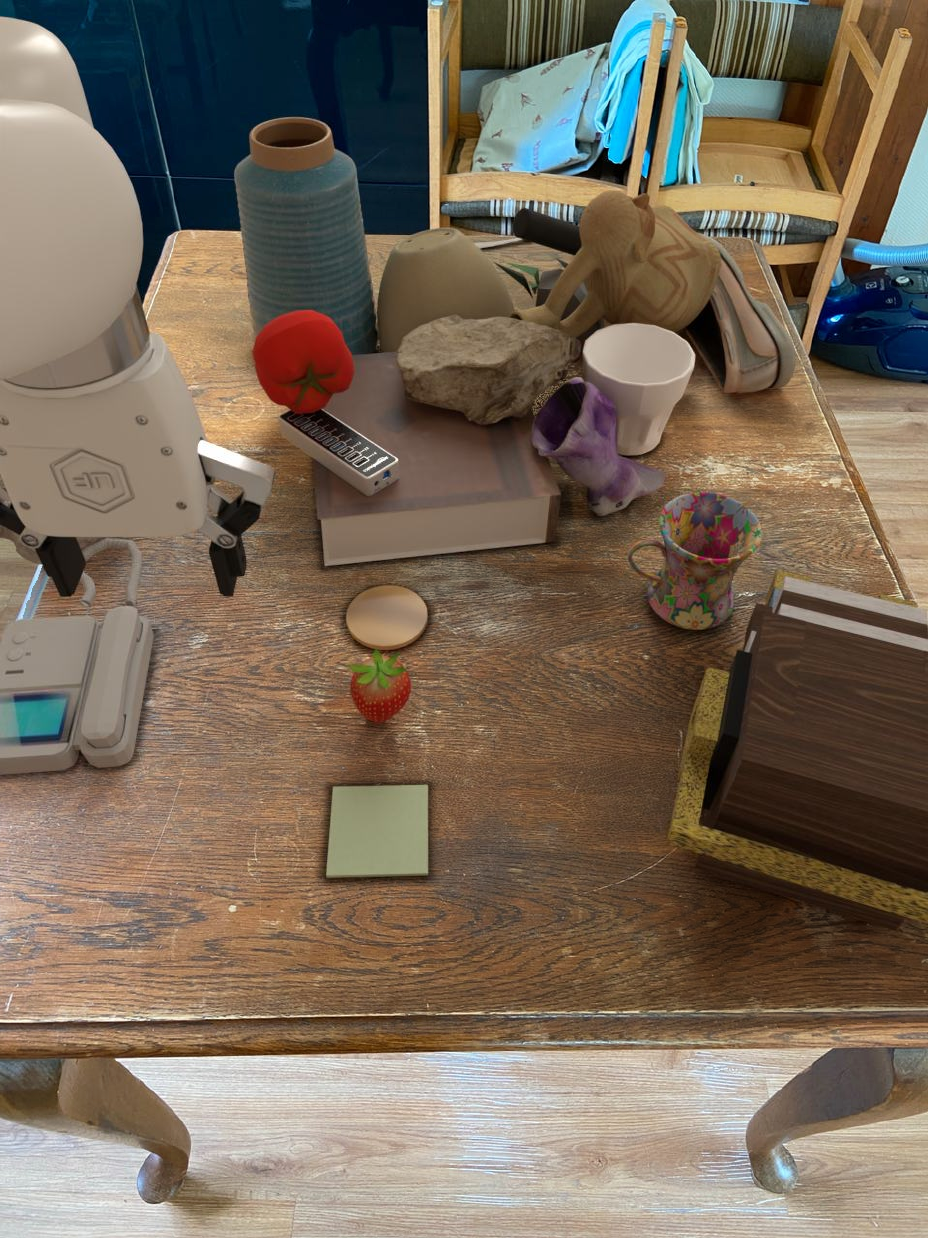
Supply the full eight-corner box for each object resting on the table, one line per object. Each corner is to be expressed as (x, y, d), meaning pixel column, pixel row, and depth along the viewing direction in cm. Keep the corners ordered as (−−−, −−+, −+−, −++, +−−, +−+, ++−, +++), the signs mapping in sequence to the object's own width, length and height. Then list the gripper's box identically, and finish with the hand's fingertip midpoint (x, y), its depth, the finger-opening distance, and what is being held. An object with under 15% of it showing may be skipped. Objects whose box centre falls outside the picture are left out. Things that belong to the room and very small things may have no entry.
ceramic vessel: (764, 252, 108) (642, 227, 91) (668, 384, 120) (544, 384, 103) (674, 171, 114) (544, 134, 97) (592, 304, 126) (464, 292, 110)
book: (506, 388, 114) (508, 342, 109) (555, 541, 96) (560, 494, 91) (312, 405, 112) (305, 359, 107) (324, 566, 93) (317, 519, 88)
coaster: (427, 649, 86) (427, 645, 86) (343, 651, 86) (343, 647, 86) (427, 588, 92) (427, 584, 91) (348, 589, 92) (348, 585, 91)
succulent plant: (483, 348, 120) (485, 287, 114) (501, 273, 133) (503, 215, 127) (602, 358, 119) (610, 298, 112) (608, 281, 132) (616, 223, 125)
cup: (670, 403, 112) (688, 323, 104) (683, 468, 104) (703, 386, 96) (570, 401, 112) (579, 320, 104) (575, 465, 104) (585, 383, 96)
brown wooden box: (706, 624, 90) (650, 886, 70) (743, 508, 79) (691, 777, 59) (929, 681, 85) (938, 978, 65) (999, 567, 75) (1036, 877, 55)
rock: (411, 452, 100) (587, 403, 95) (379, 372, 95) (562, 316, 89) (433, 394, 113) (589, 348, 108) (406, 321, 108) (567, 269, 103)
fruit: (364, 687, 83) (357, 631, 77) (418, 697, 83) (415, 641, 77) (346, 734, 80) (337, 680, 74) (403, 745, 79) (398, 691, 73)
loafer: (691, 205, 122) (628, 222, 121) (811, 331, 106) (740, 353, 105) (681, 274, 131) (622, 291, 130) (791, 401, 115) (725, 422, 113)
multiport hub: (311, 416, 99) (308, 399, 98) (401, 477, 93) (400, 459, 91) (279, 434, 97) (276, 416, 95) (368, 497, 90) (367, 479, 89)
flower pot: (325, 265, 111) (354, 358, 119) (434, 266, 101) (459, 368, 108) (417, 215, 121) (439, 304, 128) (526, 210, 110) (543, 308, 118)
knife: (555, 229, 142) (555, 224, 141) (561, 236, 140) (561, 230, 140) (438, 250, 139) (437, 245, 138) (442, 257, 137) (442, 252, 137)
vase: (232, 341, 121) (187, 128, 101) (332, 300, 128) (309, 93, 108) (301, 396, 113) (268, 176, 93) (404, 349, 120) (393, 135, 100)
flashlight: (639, 255, 133) (640, 288, 133) (508, 211, 120) (508, 248, 119) (665, 242, 129) (665, 276, 129) (531, 195, 115) (532, 233, 115)
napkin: (428, 875, 71) (428, 873, 71) (326, 878, 71) (325, 876, 71) (428, 787, 77) (427, 784, 76) (333, 789, 76) (332, 786, 76)
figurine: (539, 476, 91) (634, 542, 99) (605, 394, 89) (697, 469, 97) (508, 441, 99) (598, 505, 107) (568, 364, 96) (656, 436, 104)
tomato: (319, 284, 88) (342, 332, 86) (350, 352, 98) (371, 398, 96) (228, 326, 88) (248, 376, 86) (269, 390, 98) (288, 436, 96)
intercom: (158, 525, 90) (118, 738, 74) (168, 556, 94) (132, 765, 78) (22, 533, 90) (-48, 749, 74) (38, 563, 93) (-26, 776, 77)
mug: (718, 565, 94) (742, 487, 86) (748, 633, 88) (777, 555, 80) (605, 576, 93) (619, 498, 85) (628, 646, 87) (646, 568, 79)
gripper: (-153, 372, 41) (-9, 626, 53) (234, 373, 41) (285, 625, 54) (-86, 289, 46) (31, 539, 58) (257, 290, 46) (299, 539, 59)
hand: (152, 580), depth 56 cm, fingers open, 9 cm apart
